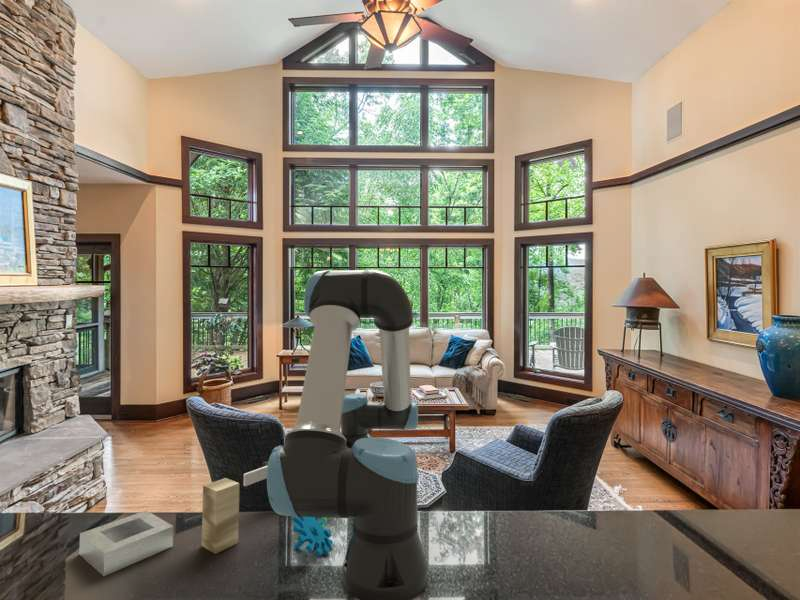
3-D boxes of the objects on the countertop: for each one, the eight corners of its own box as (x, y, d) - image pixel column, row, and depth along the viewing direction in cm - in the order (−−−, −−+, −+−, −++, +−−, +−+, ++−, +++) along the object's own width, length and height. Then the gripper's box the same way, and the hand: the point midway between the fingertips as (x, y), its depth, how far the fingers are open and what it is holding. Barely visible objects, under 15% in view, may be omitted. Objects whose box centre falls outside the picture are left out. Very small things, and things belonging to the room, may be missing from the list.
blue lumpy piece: (318, 560, 76) (288, 513, 79) (296, 581, 76) (267, 533, 79) (343, 538, 86) (316, 498, 89) (324, 557, 86) (297, 516, 90)
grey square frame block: (172, 546, 83) (173, 526, 83) (103, 576, 73) (104, 553, 74) (145, 529, 90) (146, 510, 90) (79, 554, 80) (79, 533, 80)
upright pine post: (238, 542, 85) (239, 483, 85) (215, 554, 80) (216, 491, 81) (224, 535, 87) (225, 477, 88) (201, 545, 83) (203, 485, 84)
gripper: (365, 485, 103) (299, 520, 85) (298, 464, 117) (230, 490, 100) (365, 454, 103) (299, 483, 86) (298, 437, 117) (230, 459, 100)
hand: (262, 487), depth 93 cm, fingers open, 13 cm apart
